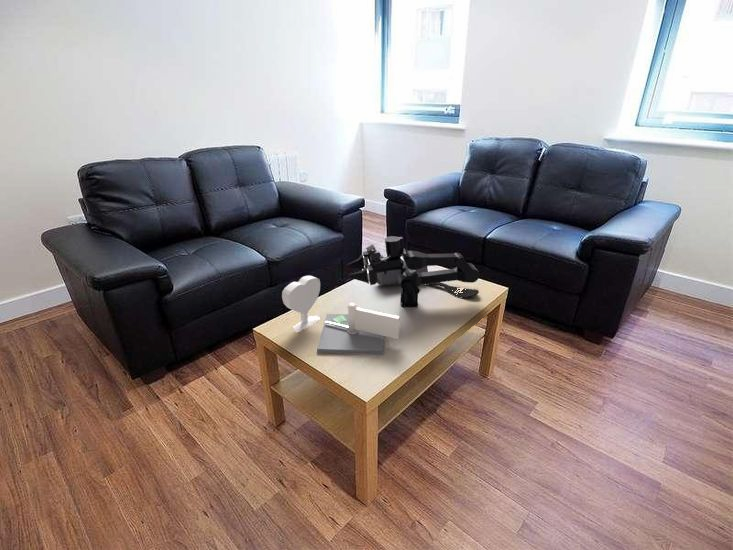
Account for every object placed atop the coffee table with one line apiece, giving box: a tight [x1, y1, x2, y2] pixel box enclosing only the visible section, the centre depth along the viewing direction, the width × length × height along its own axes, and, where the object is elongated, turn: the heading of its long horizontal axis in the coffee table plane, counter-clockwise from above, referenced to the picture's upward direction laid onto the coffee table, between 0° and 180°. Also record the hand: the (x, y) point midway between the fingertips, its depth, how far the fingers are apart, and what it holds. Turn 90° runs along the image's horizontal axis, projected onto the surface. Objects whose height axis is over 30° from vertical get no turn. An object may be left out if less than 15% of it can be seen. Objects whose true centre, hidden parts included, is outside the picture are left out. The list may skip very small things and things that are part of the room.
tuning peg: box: [324, 302, 401, 340], centre depth 134 cm, size 28×3×10 cm, turn 67°
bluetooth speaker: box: [376, 260, 429, 286], centre depth 172 cm, size 23×9×10 cm, turn 113°
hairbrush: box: [425, 282, 480, 299], centre depth 167 cm, size 8×4×25 cm
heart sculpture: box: [281, 275, 321, 332], centre depth 140 cm, size 16×5×18 cm, turn 143°
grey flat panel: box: [316, 313, 385, 355], centre depth 138 cm, size 22×22×2 cm
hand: (347, 271), depth 148 cm, fingers open, 9 cm apart
